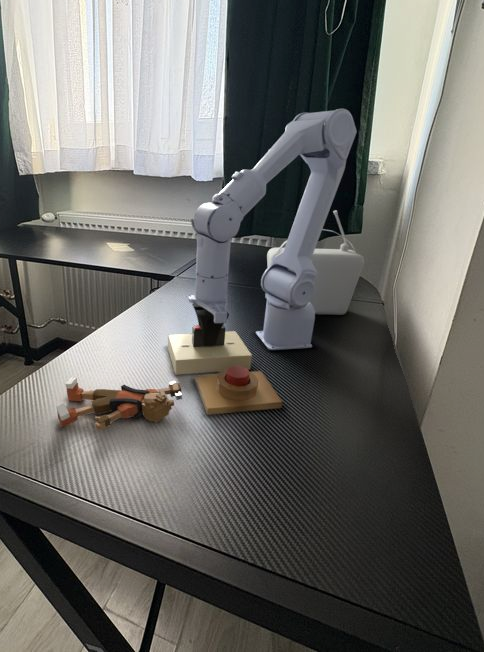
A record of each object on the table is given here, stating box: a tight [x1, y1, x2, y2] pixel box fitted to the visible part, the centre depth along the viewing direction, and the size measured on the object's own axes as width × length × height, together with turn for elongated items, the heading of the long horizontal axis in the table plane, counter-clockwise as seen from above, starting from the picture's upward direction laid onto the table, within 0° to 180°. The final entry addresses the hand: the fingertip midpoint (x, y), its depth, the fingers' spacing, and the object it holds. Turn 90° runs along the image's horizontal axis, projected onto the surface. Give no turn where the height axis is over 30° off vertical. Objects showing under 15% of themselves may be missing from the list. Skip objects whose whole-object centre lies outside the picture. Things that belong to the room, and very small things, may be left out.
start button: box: [226, 366, 250, 386], centre depth 61 cm, size 4×4×2 cm
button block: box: [194, 369, 283, 416], centre depth 61 cm, size 12×9×3 cm
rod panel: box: [167, 330, 253, 376], centre depth 72 cm, size 14×10×3 cm
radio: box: [266, 209, 365, 316], centre depth 92 cm, size 22×8×25 cm, turn 88°
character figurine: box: [56, 376, 183, 432], centre depth 56 cm, size 12×5×18 cm
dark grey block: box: [191, 324, 227, 347], centre depth 71 cm, size 6×2×4 cm, turn 99°
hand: (208, 342), depth 71 cm, fingers closed on dark grey block, 2 cm apart
